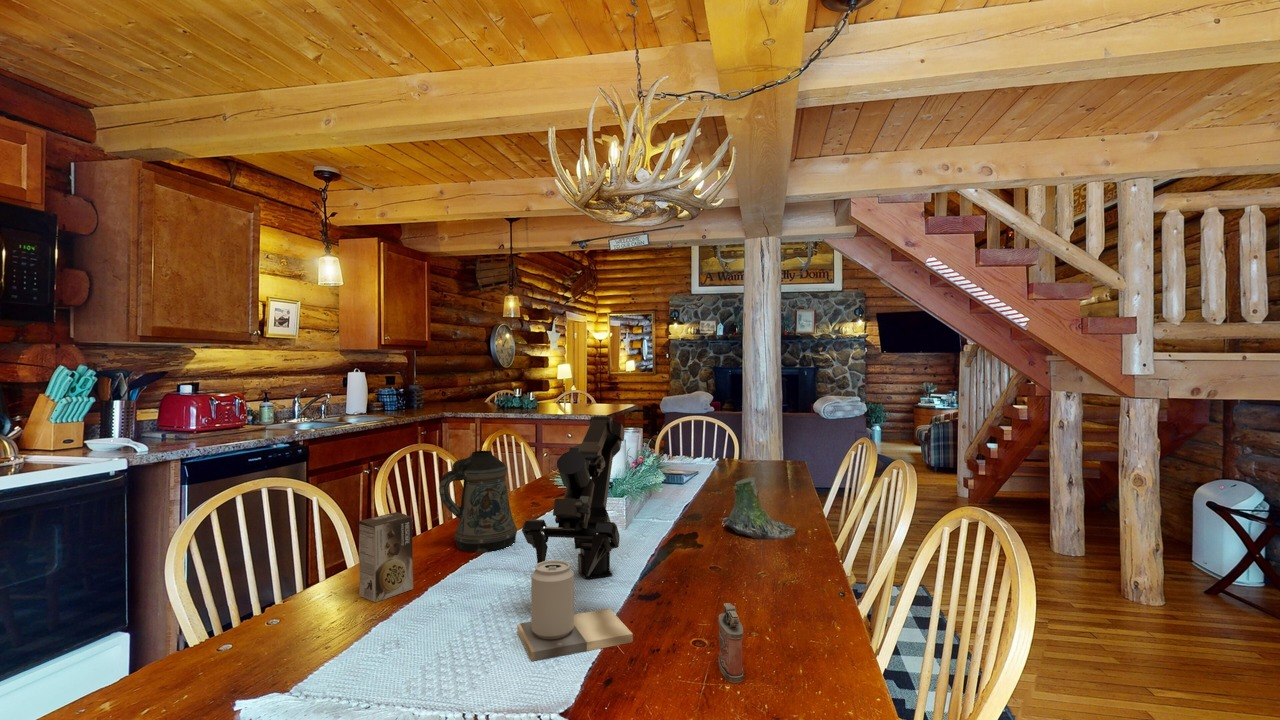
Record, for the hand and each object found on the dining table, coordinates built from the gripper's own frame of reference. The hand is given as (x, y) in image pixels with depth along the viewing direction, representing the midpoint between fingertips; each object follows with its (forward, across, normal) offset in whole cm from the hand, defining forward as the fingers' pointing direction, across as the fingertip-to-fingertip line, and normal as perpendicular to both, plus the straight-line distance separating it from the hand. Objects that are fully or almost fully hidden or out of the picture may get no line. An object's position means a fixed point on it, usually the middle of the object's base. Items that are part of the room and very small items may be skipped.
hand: (563, 574), depth 118 cm
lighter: (+16, +31, -3) cm, 35 cm away
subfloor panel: (+10, +3, +3) cm, 11 cm away
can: (+11, 0, 0) cm, 11 cm away
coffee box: (0, -42, +14) cm, 44 cm away
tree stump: (-42, +39, +56) cm, 80 cm away
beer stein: (-25, -35, +39) cm, 58 cm away
